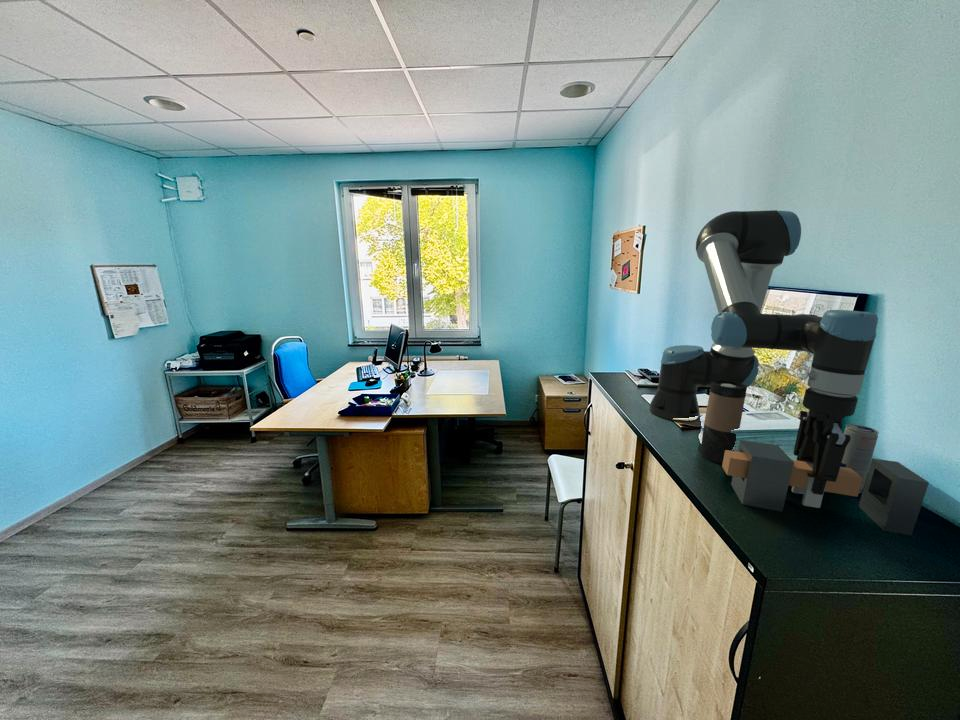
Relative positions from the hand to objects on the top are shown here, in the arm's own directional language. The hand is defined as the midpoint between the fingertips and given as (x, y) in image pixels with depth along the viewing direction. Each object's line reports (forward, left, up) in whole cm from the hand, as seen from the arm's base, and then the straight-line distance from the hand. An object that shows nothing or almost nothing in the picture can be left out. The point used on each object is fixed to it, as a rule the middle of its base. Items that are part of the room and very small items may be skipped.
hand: (805, 498), depth 78 cm
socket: (0, +13, -2) cm, 13 cm away
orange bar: (0, -4, +3) cm, 5 cm away
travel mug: (-18, -12, -2) cm, 22 cm away
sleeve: (0, -8, -2) cm, 9 cm away
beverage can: (-11, +12, -2) cm, 16 cm away
